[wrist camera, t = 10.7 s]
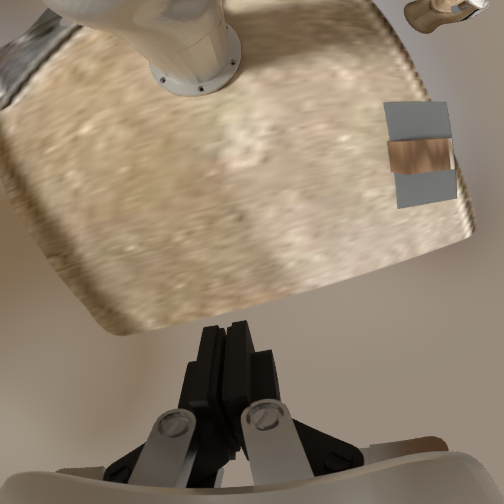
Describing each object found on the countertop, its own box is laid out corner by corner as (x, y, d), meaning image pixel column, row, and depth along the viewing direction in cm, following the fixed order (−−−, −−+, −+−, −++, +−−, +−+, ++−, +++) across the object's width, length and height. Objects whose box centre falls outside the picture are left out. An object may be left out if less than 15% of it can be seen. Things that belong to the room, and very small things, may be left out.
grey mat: (383, 102, 37) (384, 102, 37) (445, 102, 36) (446, 101, 36) (397, 208, 42) (398, 208, 42) (455, 198, 42) (456, 198, 41)
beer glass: (395, 17, 32) (445, -18, 18) (408, -7, 30) (456, -41, 16) (429, 44, 33) (487, 21, 19) (440, 19, 31) (494, -6, 17)
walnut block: (401, 141, 34) (451, 138, 34) (387, 141, 39) (435, 137, 38) (405, 175, 36) (454, 169, 35) (391, 171, 40) (438, 165, 40)
